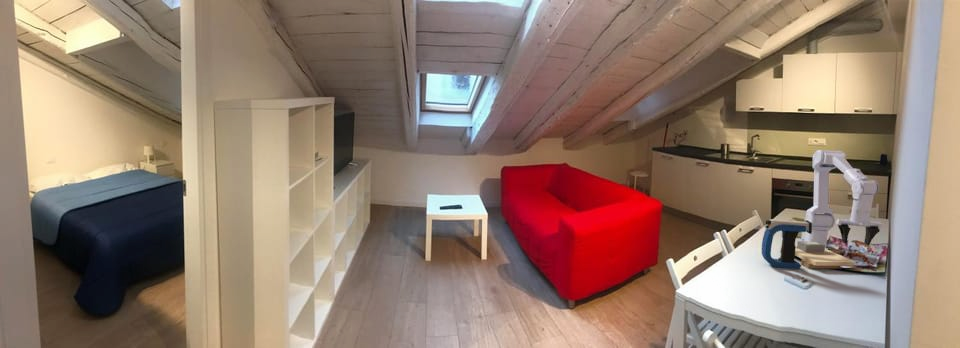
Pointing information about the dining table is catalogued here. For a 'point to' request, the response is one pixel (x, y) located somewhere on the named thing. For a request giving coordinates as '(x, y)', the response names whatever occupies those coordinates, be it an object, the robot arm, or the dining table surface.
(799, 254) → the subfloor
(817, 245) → the block
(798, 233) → the mug
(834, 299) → the dining table surface
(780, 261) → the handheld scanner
